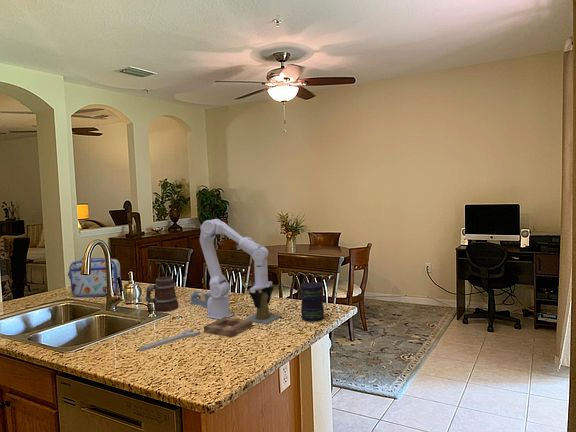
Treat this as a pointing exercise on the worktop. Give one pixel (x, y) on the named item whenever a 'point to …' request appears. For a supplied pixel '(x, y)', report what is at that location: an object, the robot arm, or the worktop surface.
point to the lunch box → (92, 278)
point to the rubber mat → (266, 321)
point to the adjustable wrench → (170, 339)
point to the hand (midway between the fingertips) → (262, 305)
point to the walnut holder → (220, 328)
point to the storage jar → (312, 301)
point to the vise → (199, 298)
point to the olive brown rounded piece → (263, 308)
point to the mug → (163, 294)
